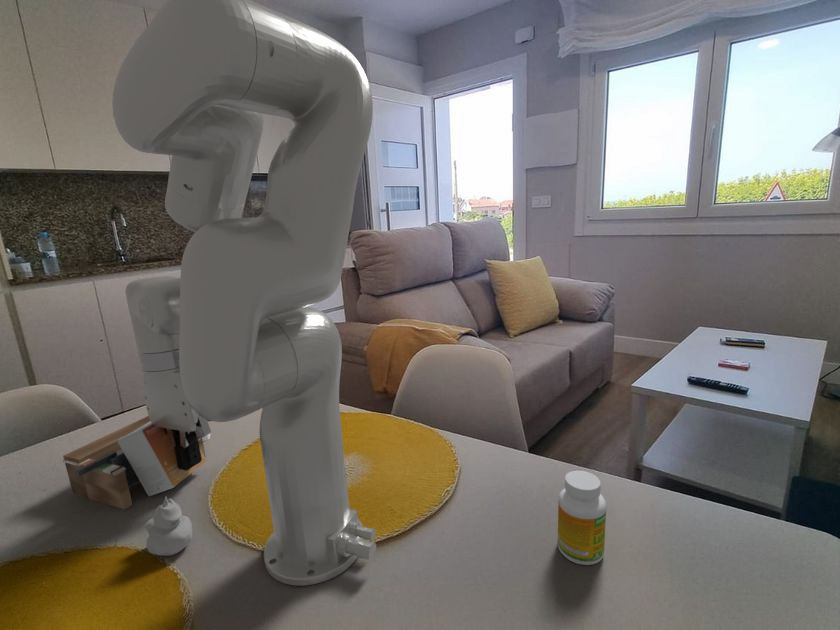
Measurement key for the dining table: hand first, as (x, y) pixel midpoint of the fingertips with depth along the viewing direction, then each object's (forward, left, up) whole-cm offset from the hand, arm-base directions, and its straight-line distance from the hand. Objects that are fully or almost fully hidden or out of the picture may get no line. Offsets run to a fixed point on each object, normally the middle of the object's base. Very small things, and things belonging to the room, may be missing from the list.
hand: (190, 465), depth 70 cm
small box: (+3, 0, -3) cm, 4 cm away
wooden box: (+12, 0, -4) cm, 12 cm away
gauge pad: (+10, +2, -3) cm, 11 cm away
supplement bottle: (-59, -5, -4) cm, 60 cm away
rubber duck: (-9, +11, -4) cm, 15 cm away
